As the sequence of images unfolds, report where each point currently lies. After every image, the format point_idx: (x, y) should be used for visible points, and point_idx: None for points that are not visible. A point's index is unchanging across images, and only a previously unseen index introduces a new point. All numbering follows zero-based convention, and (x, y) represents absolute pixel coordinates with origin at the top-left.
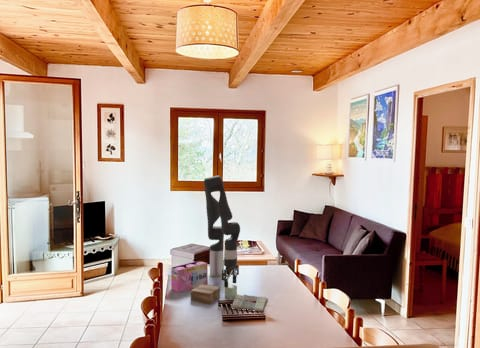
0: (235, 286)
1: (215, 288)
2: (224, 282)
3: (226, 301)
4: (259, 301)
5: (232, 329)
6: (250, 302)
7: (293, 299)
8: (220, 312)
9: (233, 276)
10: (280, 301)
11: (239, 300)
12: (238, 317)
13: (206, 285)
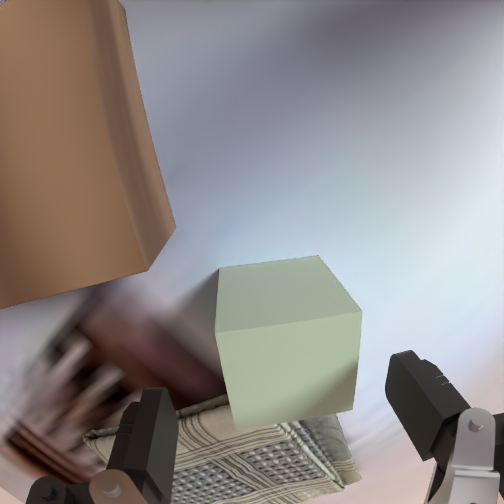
0: (321, 414)
1: (62, 254)
2: (114, 455)
3: (144, 350)
4: (285, 493)
5: (16, 476)
6: (232, 483)
7: (408, 494)
8: (19, 404)
9: (445, 430)
10: (366, 495)
11: (185, 456)
12: (73, 476)
13: (64, 39)
